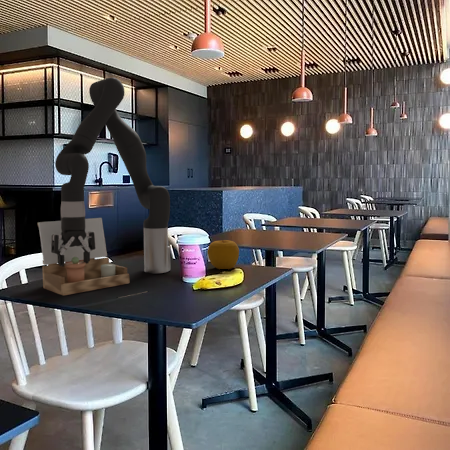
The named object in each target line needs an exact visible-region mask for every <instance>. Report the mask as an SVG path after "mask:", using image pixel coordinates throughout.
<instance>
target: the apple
mask: <svg viewBox="0 0 450 450" xmlns="http://www.w3.org/2000/svg"><path fill="white" fill-rule="evenodd" d="M239 254H240V248H239V246H238V244H237V243H236V242H235V241H233V240H227V239H223V240H214V241H213V242H211V243H210V244H209V245H208V248H207V257H208V261H209V262H210V264H211V265H212V266H213V267H214V268H215V269H217V270H220V269H228V270H231V269H233V268H234V267H235V266H236V265H237V263H238V260H239V257H240V255H239Z"/></svg>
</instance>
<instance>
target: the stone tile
mask: <svg viewBox="0 0 450 450" xmlns="http://www.w3.org/2000/svg"><path fill="white" fill-rule="evenodd" d="M145 293H148V291H143V292H136V293H133V294H127V295H123V296H118V297H116V299H121V298H125V297H131V296H137V295H141V294H145Z"/></svg>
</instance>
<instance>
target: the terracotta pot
mask: <svg viewBox="0 0 450 450" xmlns="http://www.w3.org/2000/svg"><path fill="white" fill-rule="evenodd" d="M71 261H72V262H69V263H66V264H65V265H66V268H67V283H73V282H79V281H85V279H84V267H85V262H79V258H78V257H73V258H72V260H71Z"/></svg>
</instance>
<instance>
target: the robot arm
mask: <svg viewBox="0 0 450 450" xmlns="http://www.w3.org/2000/svg"><path fill="white" fill-rule="evenodd" d="M88 93H89V97H90V101H91V102H92V104H93V106H94V108H93V109H91V111H90V112H89V113H88V115H86V117H84V119H83V120H81V122H80V123H79V125H78V126H77V129H76V130H75V132H74V134H73V136H72V138H71V140H70V141H69V142H68V143H67V144H66V145H65V146H64V147H63V148H62V149H61V151H60V152H59V153H58V154H57V156H56V159H55V162H54V165H55V170H56V171H57V172H58V174H60V175H63V176H70V179H69V181H68V182H65V183H62V184H61V189H60V195H61V198H60V200H61V204H60V221H61V230H62V233H61V235H55V234H53V235H52V243H51V252H52V253H55V254H57V255H58V263H57V264H58V265H59V266H61V267H64V263H65V262H64V255H63V254H64V252H65V251H66V250H67V249H68V248H69V247H74V246H80V247H81V248H82V249H83V250H84V252H83V258H84V262H85V263H86V264H87V263H89V261H90V251H91V250H94V249H95V236H94V232H88V233H86V232H85V219H86V207H85V191H84V190H85V186H86V182H87V177H88V173H89V169H90V168H89V167H90V165H89V161H88V158H87V156H86V155H87V154H90V153H91V152H92V150H93V148H94V146H95V144H96V142H97V140H98V137H99V136H100V133H101V132H102V130H103V128H104V126H106V128H107V131H108V133H109V134H110V136H111V139H112V140H113V142H114V145H115V148H116V150H117V152H118V155H120V158H121V160H122V162H123V164H124V166H125V168H126V171H127V172H128V174H129V177H130V180H131V181H132V184H133V187H134V189H135V193H136V196H137V199H138V201H139V203H140V205H141V206H142V207H143V208H144V209H146V210H148V211H149V213H148V217H147V218H145V219H144V220H143V254H144V255H143V260H144V261H143V263H144V264H143V266H144V268H143V269H144V272H145V273H149V274H163V273H164V274H165V273H168V272H169V271H171V246H169V234H168V233H169V230H168V229H169V228H168V227H169V225H168V223H169V220H170V216H171V215H170V214H171V213H170V212H171V197H170V192H169V191H168V189H167V188H166V187H164V186H162V185H154V184H153V181H152V179H151V177H150V176H149V174H148V169H147V153H146V149H145V147H144V144H143V142H142V140H141V138H140V136H139V134H138V133H137V132H136V130H135V129H133V127H131V125H129V124H128V123H127V122H125V121H124V120H123V118H121V116H120V114H119V113H118V111H117V108H118V107H119V106H120V104H121V103H122V101H123V99H124V98H125V88H124V84H123V83H122V81H121V80H120V79H119V78H117V77H107V78H104V79H101V80H98V81H95V82H93V83H91V85H90V86H89V91H88ZM85 237H87V238H88V246H87V244H86V242H85V241H84V239H85ZM60 238H61V239H62V240H63V242H62V243H61V245H60V248H59V249H58V244H59V241H60Z"/></svg>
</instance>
